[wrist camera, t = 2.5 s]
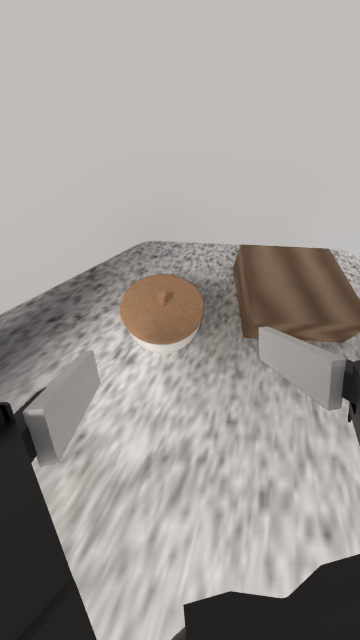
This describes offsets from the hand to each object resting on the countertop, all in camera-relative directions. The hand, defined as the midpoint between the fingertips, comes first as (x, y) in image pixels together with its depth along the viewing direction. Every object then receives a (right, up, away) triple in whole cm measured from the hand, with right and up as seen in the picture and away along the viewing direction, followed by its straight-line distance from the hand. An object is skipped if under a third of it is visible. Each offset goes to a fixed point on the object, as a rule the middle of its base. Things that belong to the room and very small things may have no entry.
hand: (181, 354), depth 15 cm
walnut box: (+18, +6, +20) cm, 28 cm away
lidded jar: (-3, +1, +16) cm, 16 cm away
